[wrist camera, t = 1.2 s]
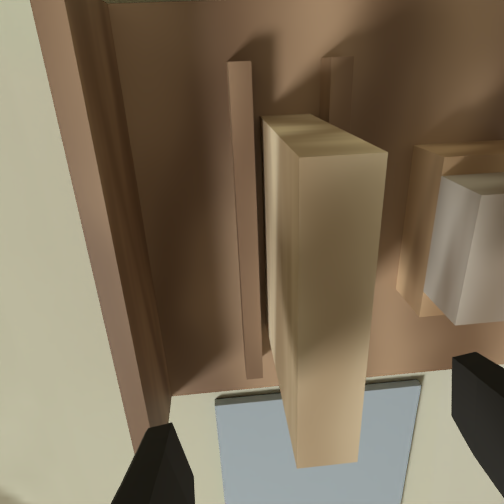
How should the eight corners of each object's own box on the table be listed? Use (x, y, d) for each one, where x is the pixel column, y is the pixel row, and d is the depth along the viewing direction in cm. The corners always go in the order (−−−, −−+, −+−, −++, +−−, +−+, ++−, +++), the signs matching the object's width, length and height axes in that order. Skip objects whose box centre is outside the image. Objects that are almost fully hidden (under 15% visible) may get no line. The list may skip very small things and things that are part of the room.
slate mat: (417, 379, 24) (421, 385, 24) (393, 518, 30) (396, 525, 29) (214, 399, 23) (214, 406, 23) (229, 537, 29) (229, 545, 28)
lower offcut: (503, 139, 18) (547, 150, 15) (473, 282, 20) (506, 309, 18) (413, 144, 17) (444, 157, 15) (395, 288, 20) (419, 317, 18)
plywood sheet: (309, 113, 16) (388, 152, 9) (305, 321, 21) (357, 462, 13) (260, 116, 16) (299, 157, 9) (266, 325, 20) (296, 468, 13)
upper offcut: (542, 169, 16) (599, 187, 13) (512, 284, 18) (557, 316, 15) (441, 176, 15) (481, 195, 13) (423, 291, 17) (455, 325, 15)
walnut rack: (601, -10, 16) (795, -47, 11) (503, 351, 24) (589, 435, 18) (91, 8, 15) (24, -25, 10) (158, 384, 23) (141, 485, 17)
